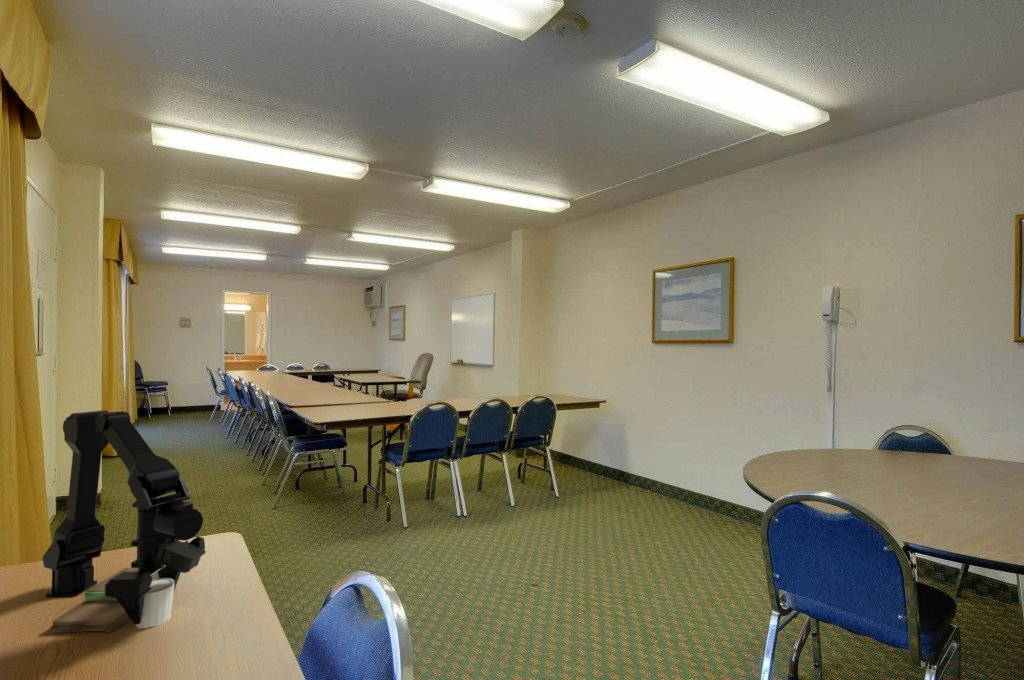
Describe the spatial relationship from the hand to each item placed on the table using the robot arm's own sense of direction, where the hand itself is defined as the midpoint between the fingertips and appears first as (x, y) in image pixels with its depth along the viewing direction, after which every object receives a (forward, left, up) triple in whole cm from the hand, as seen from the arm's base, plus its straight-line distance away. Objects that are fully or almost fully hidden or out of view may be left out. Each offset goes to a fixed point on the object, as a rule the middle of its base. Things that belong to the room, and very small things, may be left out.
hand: (153, 611), depth 102 cm
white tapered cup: (0, 0, -2) cm, 2 cm away
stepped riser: (-11, +5, -2) cm, 12 cm away
